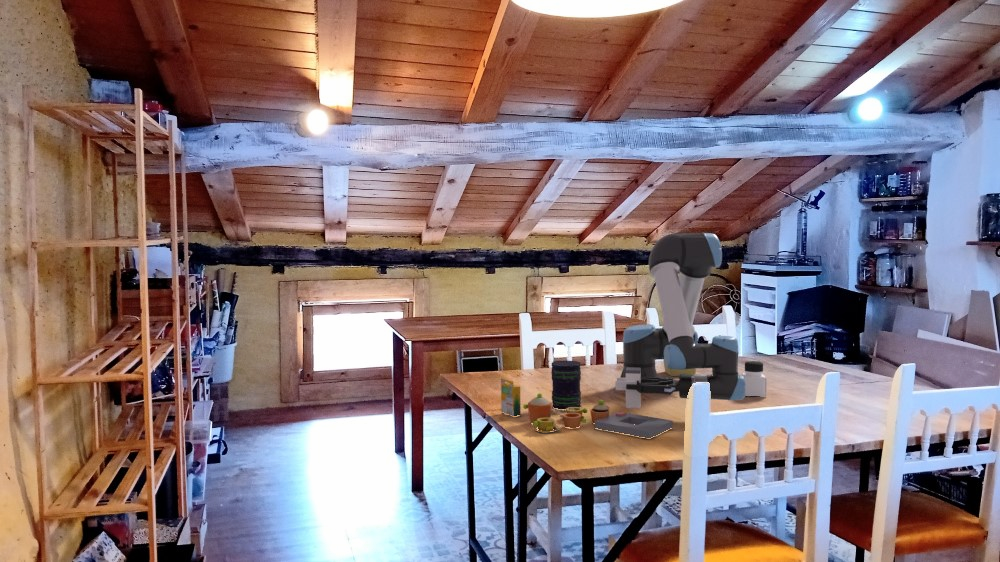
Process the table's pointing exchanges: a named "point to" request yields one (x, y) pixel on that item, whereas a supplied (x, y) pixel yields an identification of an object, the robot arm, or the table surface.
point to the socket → (626, 422)
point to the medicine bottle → (754, 379)
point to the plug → (633, 396)
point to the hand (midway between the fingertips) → (616, 383)
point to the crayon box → (510, 398)
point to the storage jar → (566, 384)
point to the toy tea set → (572, 418)
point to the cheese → (679, 371)
